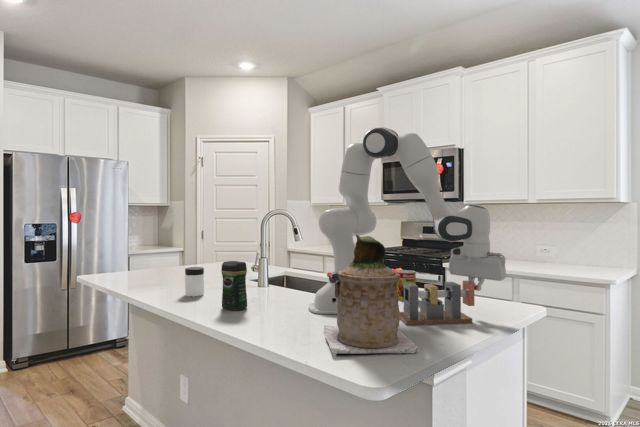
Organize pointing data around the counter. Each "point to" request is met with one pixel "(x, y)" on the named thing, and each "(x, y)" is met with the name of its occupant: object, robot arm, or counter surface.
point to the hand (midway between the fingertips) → (476, 290)
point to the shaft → (465, 293)
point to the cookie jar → (367, 305)
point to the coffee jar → (234, 285)
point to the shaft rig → (433, 307)
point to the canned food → (405, 281)
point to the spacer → (432, 293)
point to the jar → (194, 281)
